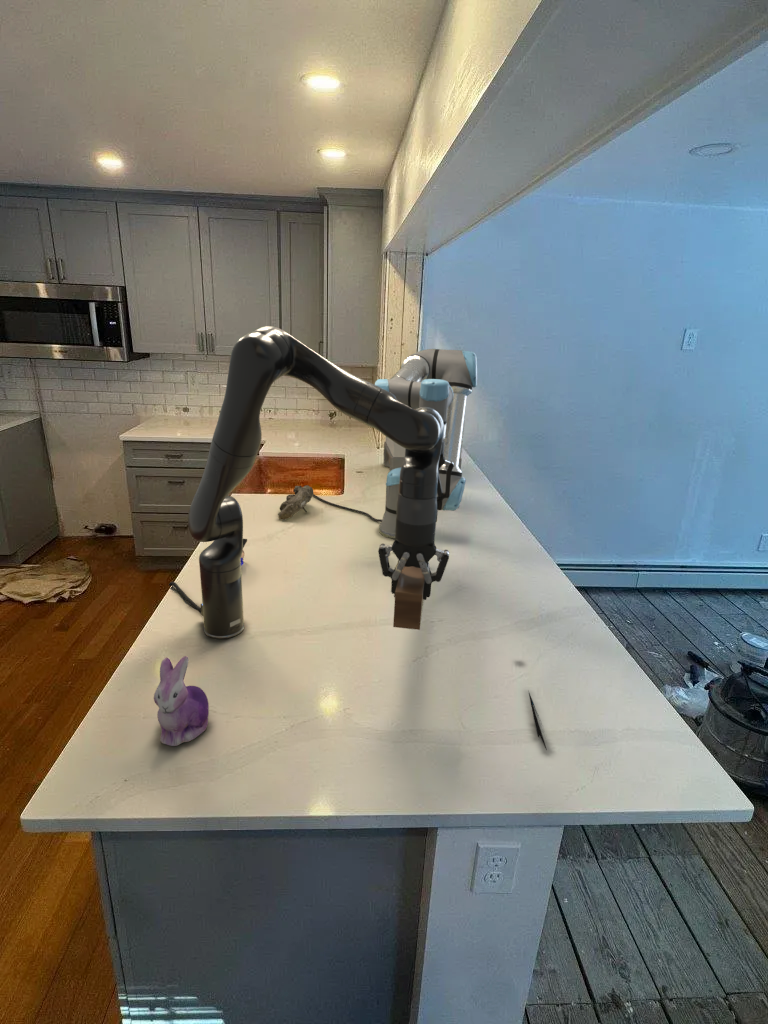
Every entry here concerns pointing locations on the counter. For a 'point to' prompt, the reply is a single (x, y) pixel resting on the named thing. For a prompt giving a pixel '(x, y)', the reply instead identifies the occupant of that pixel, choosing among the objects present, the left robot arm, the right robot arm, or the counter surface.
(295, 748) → the counter surface
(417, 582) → the post
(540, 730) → the feather
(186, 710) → the figurine
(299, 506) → the fossil
